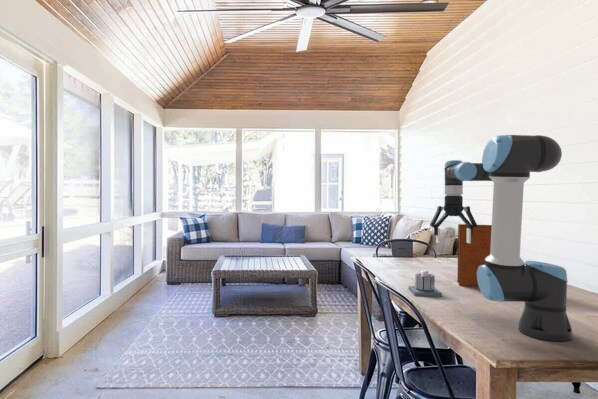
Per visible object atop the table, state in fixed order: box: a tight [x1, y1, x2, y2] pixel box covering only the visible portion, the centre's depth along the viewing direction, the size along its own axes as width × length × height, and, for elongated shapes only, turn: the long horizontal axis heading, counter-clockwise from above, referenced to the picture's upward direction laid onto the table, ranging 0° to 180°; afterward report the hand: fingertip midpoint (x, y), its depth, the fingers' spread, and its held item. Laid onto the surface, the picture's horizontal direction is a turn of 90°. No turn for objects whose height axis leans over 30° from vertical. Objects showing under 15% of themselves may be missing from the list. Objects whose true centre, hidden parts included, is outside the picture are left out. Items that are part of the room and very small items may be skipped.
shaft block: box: [408, 269, 443, 297], centre depth 181 cm, size 12×12×10 cm
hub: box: [414, 272, 436, 290], centre depth 181 cm, size 8×8×6 cm
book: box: [456, 223, 492, 288], centre depth 195 cm, size 23×8×30 cm, turn 73°
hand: (453, 243), depth 174 cm, fingers open, 13 cm apart
